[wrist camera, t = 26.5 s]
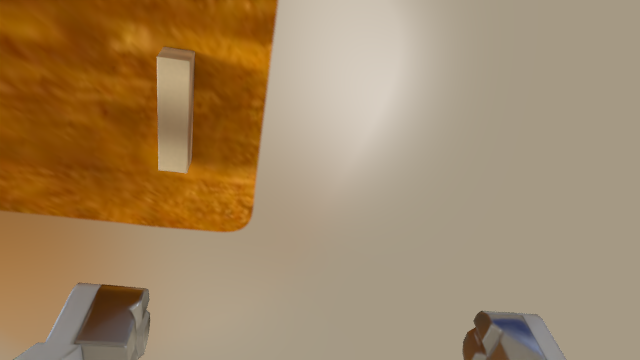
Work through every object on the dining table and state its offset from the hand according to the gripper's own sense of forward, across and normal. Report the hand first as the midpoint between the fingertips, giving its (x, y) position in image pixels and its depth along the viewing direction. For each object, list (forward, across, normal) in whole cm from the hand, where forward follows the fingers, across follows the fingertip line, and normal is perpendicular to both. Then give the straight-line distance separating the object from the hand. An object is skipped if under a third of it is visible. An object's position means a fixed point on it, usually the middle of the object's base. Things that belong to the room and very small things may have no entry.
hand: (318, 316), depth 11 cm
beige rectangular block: (+29, +9, +9) cm, 32 cm away
